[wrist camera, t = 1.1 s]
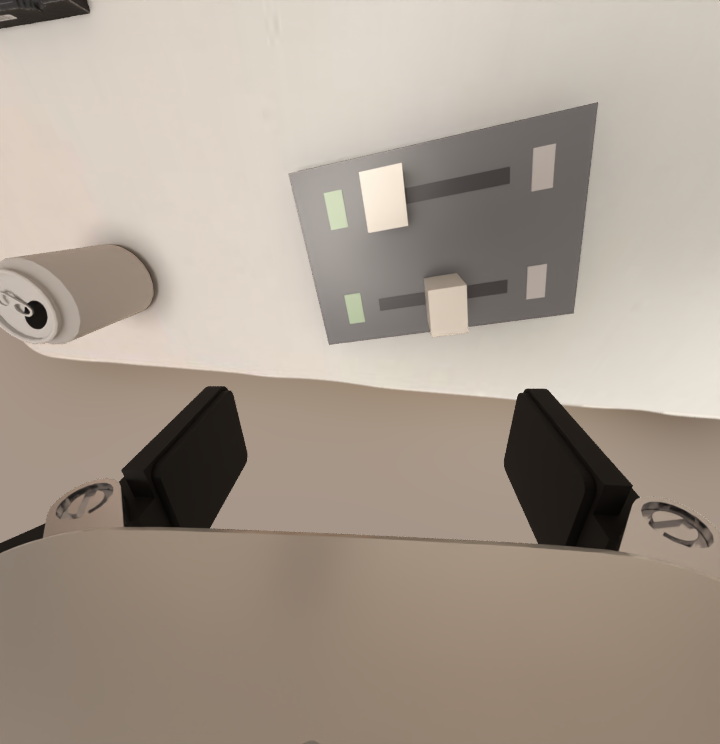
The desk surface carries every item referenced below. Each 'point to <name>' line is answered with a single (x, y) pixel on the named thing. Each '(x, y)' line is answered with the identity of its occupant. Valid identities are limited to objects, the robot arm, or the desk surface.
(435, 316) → the white slider handle
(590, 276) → the desk surface
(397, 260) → the slider switch panel
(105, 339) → the desk surface
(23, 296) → the can
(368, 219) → the block
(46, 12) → the disk drive
